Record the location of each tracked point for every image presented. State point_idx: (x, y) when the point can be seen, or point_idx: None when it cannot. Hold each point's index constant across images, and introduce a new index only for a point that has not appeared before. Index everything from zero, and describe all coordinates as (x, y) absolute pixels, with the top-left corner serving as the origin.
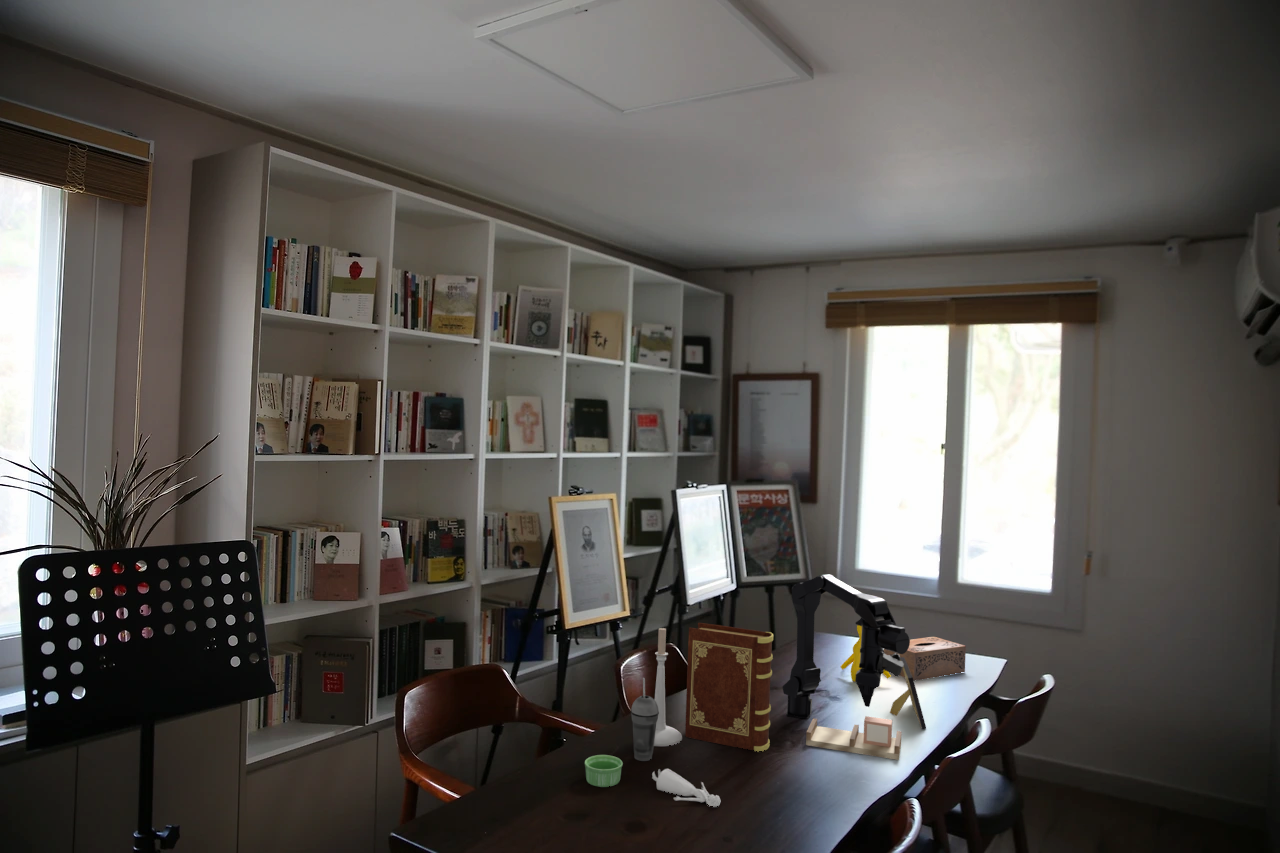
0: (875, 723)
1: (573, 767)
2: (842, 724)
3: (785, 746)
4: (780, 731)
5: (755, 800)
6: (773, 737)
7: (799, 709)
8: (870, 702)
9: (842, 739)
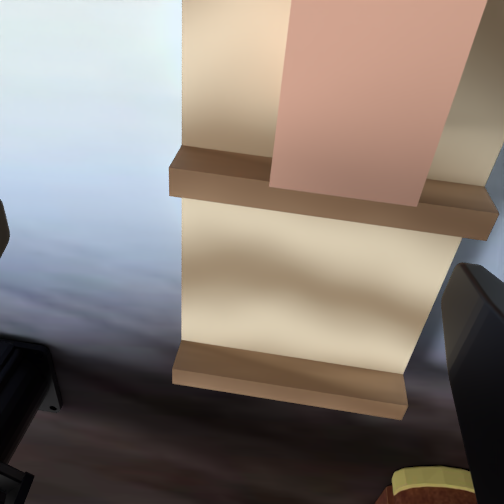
0: (452, 95)
1: None
2: (9, 206)
3: (426, 425)
4: (252, 428)
5: None
6: (330, 448)
7: (31, 400)
8: (486, 290)
9: (353, 243)
